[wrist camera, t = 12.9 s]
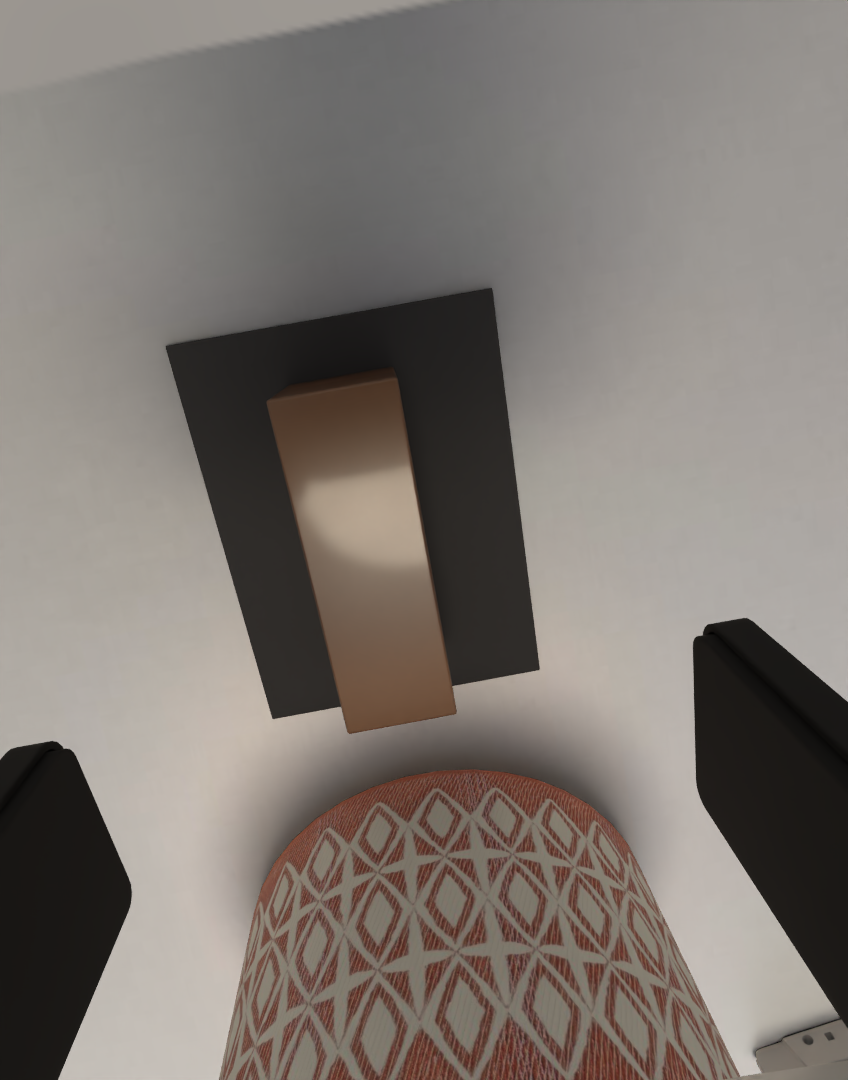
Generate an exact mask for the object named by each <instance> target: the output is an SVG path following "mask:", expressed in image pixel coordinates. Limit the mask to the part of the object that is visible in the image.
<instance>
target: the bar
mask: <svg viewBox="0 0 848 1080" xmlns="http://www.w3.org/2000/svg"><path fill="white" fill-rule="evenodd" d="M267 407H268V411H269V415H270V419H271V423H272V427H273V431H274V436H275V440H276V444H277V448H278V452H279V456H280V460H281V464H282V468H283V472H284V476H285V480H286V484H287V488H288V492H289V497H290V501H291V505H292V509H293V513H294V517H295V521H296V525H297V529H298V533H299V537H300V541H301V545H302V549H303V553H304V558H305V562H306V566H307V570H308V574H309V578H310V582H311V586H312V590H313V594H314V598H315V602H316V606H317V610H318V614H319V619H320V623H321V627H322V631H323V635H324V639H325V643H326V647H327V651H328V655H329V659H330V663H331V667H332V671H333V675H334V680H335V684H336V688H337V692H338V696H339V700H340V704H341V708H342V712H343V716H344V720H345V724H346V728H347V732H348V733H349V734H352V733H357V732H363V731H368V730H373V729H379V728H384V727H390V726H395V725H400V724H406V723H411V722H416V721H422V720H427V719H433V718H438V717H443V716H449V715H454V714H456V712H457V710H456V705H455V699H454V693H453V688H452V682H451V677H450V671H449V665H448V660H447V654H446V649H445V643H444V637H443V632H442V626H441V620H440V615H439V609H438V604H437V598H436V592H435V587H434V581H433V575H432V570H431V564H430V559H429V553H428V547H427V542H426V536H425V530H424V525H423V519H422V514H421V508H420V502H419V497H418V491H417V485H416V480H415V474H414V469H413V463H412V457H411V452H410V446H409V440H408V435H407V429H406V424H405V418H404V412H403V407H402V401H401V395H400V390H399V384H398V379H397V376H396V373H395V371H394V368H393V367H387V368H381V369H376V370H370V371H365V372H359V373H353V374H348V375H342V376H337V377H331V378H326V379H320V380H314V381H309V382H303V383H298V384H292V385H289V386H287V387H286V388H284V389H283V390H282V391H280V392H279V393H277V394H276V395H275V396H273V397H272V398H270V399H269V400H267Z"/></svg>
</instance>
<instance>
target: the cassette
mask: <svg viewBox="0 0 848 1080" xmlns="http://www.w3.org/2000/svg"><path fill="white" fill-rule="evenodd" d="M756 1058H757V1060H756V1062H757V1065H758V1067H759V1069H760V1071H761V1073H768V1072H774V1071H781V1070H787V1069H794V1068H801V1067H807V1066H814V1065H821V1064H827V1063H834V1062H840V1061H847V1060H848V1028H847V1027H846V1025H845V1024H844V1022H843V1021H842V1019H840V1020H837V1021H834V1022H831V1023H828V1024H825V1025H822V1026H819V1027H816V1028H813V1029H810V1030H806V1031H803V1032H800V1033H797V1034H794V1035H791V1036H788V1037H785V1038H783V1040H782V1042H779V1043H776V1044H773V1045H770V1046H767V1047H764V1048H761V1049H759V1050H757V1052H756Z"/></svg>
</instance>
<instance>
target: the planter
mask: <svg viewBox="0 0 848 1080" xmlns="http://www.w3.org/2000/svg"><path fill="white" fill-rule="evenodd" d="M736 1077H740V1075H739V1073H738V1071H737V1069H736V1067H735V1065H734V1063H733V1060H732V1058H731V1056H730V1054H729V1052H728V1050H727V1048H726V1046H725V1044H724V1042H723V1040H722V1038H721V1036H720V1033H719V1031H718V1029H717V1027H716V1025H715V1023H714V1021H713V1019H712V1017H711V1015H710V1013H709V1011H708V1009H707V1006H706V1004H705V1002H704V1000H703V998H702V996H701V994H700V992H699V990H698V988H697V986H696V984H695V981H694V979H693V977H692V975H691V973H690V971H689V969H688V967H687V965H686V963H685V961H684V959H683V957H682V954H681V952H680V950H679V948H678V946H677V944H676V942H675V940H674V938H673V936H672V934H671V932H670V929H669V927H668V925H667V923H666V921H665V919H664V917H663V915H662V913H661V911H660V909H659V907H658V905H657V902H656V900H655V898H654V896H653V894H652V892H651V890H650V888H649V886H648V884H647V882H646V880H645V878H644V875H643V873H642V871H641V869H640V867H639V865H638V863H637V861H636V859H635V857H634V856H633V854H632V852H631V850H630V848H629V846H628V844H627V843H626V841H625V840H624V839H623V838H622V836H621V835H620V834H619V833H618V832H617V830H616V829H615V828H614V827H613V825H612V824H611V823H610V822H609V821H608V820H607V819H605V818H604V817H603V816H602V815H601V814H600V813H598V812H597V811H596V810H595V809H594V808H592V807H591V806H590V805H589V804H587V803H585V802H584V801H582V800H580V799H578V798H577V797H575V796H573V795H572V794H570V793H568V792H567V791H565V790H562V789H560V788H557V787H555V786H552V785H550V784H547V783H544V782H542V781H539V780H537V779H533V778H528V777H524V776H519V775H515V774H511V773H506V772H497V771H486V770H474V769H467V770H446V771H435V772H429V773H423V774H418V775H412V776H407V777H403V778H400V779H396V780H393V781H390V782H387V783H384V784H381V785H378V786H375V787H372V788H370V789H368V790H365V791H363V792H361V793H359V794H357V795H355V796H353V797H351V798H349V799H347V800H344V801H342V802H341V803H339V804H338V805H336V806H335V807H333V808H332V809H330V810H329V811H327V812H326V813H324V814H323V815H321V816H320V817H318V818H317V819H315V820H314V821H313V822H312V823H311V824H310V825H309V826H307V827H306V828H305V829H304V830H303V831H302V832H301V833H300V834H299V835H298V836H296V837H295V838H294V839H293V840H292V842H291V843H290V844H289V845H288V847H287V848H286V849H285V850H284V852H283V853H282V854H281V855H280V857H279V858H278V859H277V860H276V862H275V863H274V865H273V867H272V869H271V871H270V873H269V875H268V877H267V878H266V880H265V882H264V884H263V886H262V888H261V892H260V895H259V898H258V901H257V905H256V908H255V911H254V915H253V920H252V925H251V930H250V934H249V939H248V944H247V949H246V954H245V958H244V963H243V968H242V973H241V977H240V982H239V987H238V992H237V996H236V1001H235V1006H234V1011H233V1016H232V1020H231V1025H230V1030H229V1035H228V1039H227V1044H226V1049H225V1054H224V1058H223V1063H222V1068H221V1073H220V1078H219V1080H725V1079H730V1078H736Z"/></svg>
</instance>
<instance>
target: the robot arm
mask: <svg viewBox="0 0 848 1080" xmlns="http://www.w3.org/2000/svg"><path fill="white" fill-rule="evenodd" d="M693 665H694V709H695V752H696V783H697V788H698V792H699V795H700V798H701V801H702V803H703V805H704V807H705V808H706V810H707V812H708V813H709V815H710V816H711V818H712V819H713V821H714V822H715V824H716V825H717V827H718V829H719V830H720V832H721V833H722V835H723V836H724V838H725V839H726V841H727V843H728V844H729V846H730V847H731V849H732V850H733V852H734V853H735V855H736V856H737V858H738V860H739V861H740V863H741V864H742V866H743V867H744V869H745V870H746V872H747V874H748V875H749V877H750V878H751V880H752V881H753V883H754V884H755V886H756V888H757V889H758V891H759V892H760V894H761V895H762V897H763V898H764V900H765V901H766V903H767V905H768V906H769V908H770V909H771V911H772V912H773V914H774V915H775V917H776V919H777V920H778V922H779V923H780V925H781V926H782V928H783V929H784V931H785V932H786V934H787V936H788V937H789V939H790V940H791V942H792V943H793V945H794V946H795V948H796V950H797V951H798V953H799V954H800V956H801V957H802V959H803V960H804V962H805V963H806V965H807V967H808V968H809V970H810V971H811V973H812V974H813V976H814V977H815V979H816V981H817V982H818V984H819V985H820V987H821V988H822V990H823V991H824V993H825V994H826V996H827V998H828V999H829V1001H830V1002H831V1004H832V1005H833V1007H834V1008H835V1010H836V1012H837V1013H838V1015H839V1016H840V1018H841V1019H842V1021H843V1022H844V1024H845V1025H846V1027H847V1028H848V702H847V701H846V700H845V699H843V698H842V697H841V696H840V695H839V694H838V693H836V692H835V691H834V690H833V689H832V688H830V687H829V686H828V685H827V684H826V683H825V682H823V681H822V680H821V679H820V678H819V677H818V676H816V675H815V674H814V673H813V672H812V671H810V670H809V669H808V668H807V667H806V666H805V665H803V664H802V663H801V662H800V661H799V660H798V659H796V658H795V657H794V656H793V655H792V654H790V653H789V652H788V651H787V650H786V649H785V648H783V647H782V646H781V645H780V644H779V643H777V642H776V641H775V640H774V639H773V638H772V637H770V636H769V635H768V634H767V633H766V632H765V631H763V630H762V629H761V628H760V627H759V626H757V625H756V624H755V623H754V622H753V621H751V620H750V619H748V618H742V619H736V620H731V621H725V622H720V623H714V624H708V625H707V626H706V627H705V629H704V632H703V636H697V637H696V638H695V639H694V642H693ZM131 897H132V890H131V884H130V881H129V878H128V876H127V873H126V871H125V869H124V866H123V864H122V862H121V860H120V857H119V855H118V853H117V850H116V848H115V846H114V843H113V841H112V839H111V836H110V834H109V832H108V829H107V827H106V825H105V823H104V820H103V818H102V816H101V813H100V811H99V809H98V806H97V804H96V802H95V799H94V797H93V795H92V792H91V790H90V788H89V785H88V783H87V781H86V779H85V776H84V774H83V772H82V769H81V767H80V765H79V762H78V760H77V758H76V756H75V754H74V752H72V751H71V750H70V749H63V747H62V746H61V745H60V744H59V743H58V742H54V741H50V742H44V743H39V744H33V745H27V746H22V747H16V748H13V749H10V750H9V751H8V752H7V753H6V754H5V755H4V756H3V757H2V758H1V760H0V1080H58V1078H59V1076H60V1073H61V1071H62V1068H63V1066H64V1064H65V1061H66V1059H67V1057H68V1054H69V1052H70V1049H71V1047H72V1045H73V1042H74V1040H75V1037H76V1035H77V1033H78V1030H79V1028H80V1025H81V1023H82V1021H83V1018H84V1016H85V1014H86V1011H87V1009H88V1006H89V1004H90V1002H91V999H92V997H93V994H94V992H95V990H96V987H97V985H98V983H99V980H100V978H101V975H102V973H103V971H104V968H105V966H106V963H107V961H108V959H109V956H110V954H111V952H112V949H113V947H114V944H115V942H116V940H117V937H118V935H119V932H120V930H121V928H122V925H123V923H124V921H125V918H126V916H127V913H128V911H129V908H130V904H131ZM725 1080H848V1060H847V1061H840V1062H834V1063H827V1064H821V1065H814V1066H807V1067H801V1068H794V1069H787V1070H781V1071H774V1072H768V1073H761V1074H754V1075H748V1076H742V1077H736V1078H730V1079H725Z"/></svg>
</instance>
